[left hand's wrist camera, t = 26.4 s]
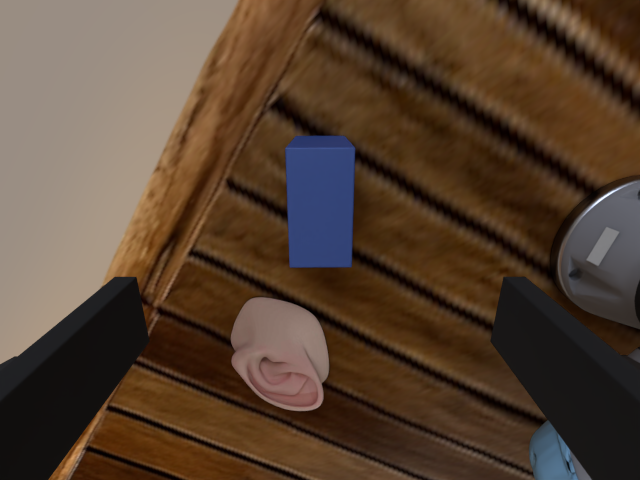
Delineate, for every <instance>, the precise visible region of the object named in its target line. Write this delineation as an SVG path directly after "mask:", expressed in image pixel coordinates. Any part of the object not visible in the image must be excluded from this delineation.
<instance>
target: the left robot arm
mask: <svg viewBox="0 0 640 480" xmlns="http://www.w3.org/2000/svg"><path fill="white" fill-rule="evenodd" d="M551 271H552V276H553V279H554V281H555V283H556V285H557V287H558V289H559V290H560V291H561V292H562V293H563V294H564V295H565V296H566V297H567V298H568V299H569V300H571V301H572V302H573V303H575V304H576V305H577V306H579V307H580V308H582V309H583V310H585V311H587V312H589V313H592V314H594V315H597V316H600V317H603V318H606V319H609V320H612V321H616V322H619V323H622V324H625V325H628V326H631V327H634V328H637V329H640V175H636V176H631V177H627V178H623V179H620V180H617V181H614V182H612V183H610V184H607V185H605V186H604V187H602V188H600V189H598V190H597V191H595V192H593V193H592V194H591V195H589V196H588V197H587V198H585V199H584V200H583V201H582V202H581V203H579V204H578V205H577V206H576V207H575V208H574V210H573V211H572V212H571V213H570V214H569V215H568V217H567V218H566V220H565V221H564V222H563V224H562V226H561V227H560V229H559V231H558V233H557V235H556V238H555V240H554V243H553V247H552V252H551ZM148 343H149V336H148V331H147V327H146V322H145V317H144V312H143V307H142V302H141V297H140V292H139V288H138V283H137V278H136V277H114V278H113V279H112V280H111V281H109V282H108V283H107V284H106V285H104V286H103V287H102V288H101V289H100V290H98V291H97V292H96V293H95V294H93V295H92V296H91V297H90V298H89V299H87V300H86V301H85V302H84V303H83V304H81V305H80V306H79V307H78V308H76V309H75V310H74V311H73V312H72V313H70V314H69V315H68V316H67V317H65V318H64V319H63V320H62V321H61V322H59V323H58V324H57V325H56V326H55V327H53V328H52V329H51V330H50V331H48V332H47V333H46V334H45V335H44V336H42V337H41V338H40V339H39V340H37V341H36V342H35V343H34V344H32V345H31V346H30V347H29V348H28V349H26V350H25V351H24V352H23V353H22V354H20V355H19V356H18V357H13V358H11V359H9V360H7V361H6V362H4V363H2V364H0V480H48V479H49V478H50V476H51V475H52V474H53V472H54V471H55V470H56V468H57V467H58V466H59V464H60V463H61V461H62V460H63V459H64V457H65V456H66V455H67V453H68V452H69V451H70V449H71V448H72V446H73V445H74V444H75V442H76V441H77V440H78V438H79V437H80V436H81V434H82V433H83V431H84V430H85V429H86V427H87V426H88V425H89V423H90V422H91V421H92V419H93V418H94V416H95V415H96V414H97V412H98V411H99V410H100V408H101V407H102V406H103V404H104V403H105V401H106V400H107V399H108V397H109V396H110V395H111V393H112V392H113V390H114V389H115V388H116V386H117V385H118V384H119V382H120V381H121V380H122V378H123V377H124V375H125V374H126V373H127V371H128V370H129V369H130V367H131V366H132V365H133V363H134V362H135V360H136V359H137V358H138V356H139V355H140V354H141V352H142V351H143V350H144V348H145V347H146V345H147V344H148ZM491 343H492V344H493V345H494V347H495V348H496V350H497V351H498V352H499V354H500V355H501V356H502V358H503V359H504V360H505V362H506V363H507V365H508V366H509V367H510V369H511V370H512V371H513V373H514V374H515V375H516V377H517V378H518V380H519V381H520V382H521V384H522V385H523V386H524V388H525V389H526V390H527V392H528V393H529V395H530V396H531V397H532V399H533V400H534V401H535V403H536V404H537V406H538V407H539V408H540V410H541V411H542V412H543V414H544V415H545V416H546V418H547V419H548V420H547V421H546V422H545V423H544V424H543V425H542V426H541V427H540V428H539V429H538V430H536V432H535V433H534V434H533V436H532V438H531V440H530V445H529V457H530V463H531V466H532V469H533V472H534V477H535V480H640V347H638V348H636V349H635V350H634V351H633V352H632V353H630V354H629V355H628V356H626V355H620V354H618V353H617V352H616V351H615V350H614V349H612V348H611V347H610V346H609V345H608V344H606V343H605V342H604V341H603V340H601V339H600V338H599V337H598V336H597V335H595V334H594V333H593V332H592V331H590V330H589V329H588V328H587V327H586V326H584V325H583V324H582V323H581V322H579V321H578V320H577V319H576V318H575V317H573V316H572V315H571V314H570V313H568V312H567V311H566V310H565V309H564V308H562V307H561V306H560V305H559V304H557V303H556V302H555V301H554V300H553V299H551V298H550V297H549V296H548V295H547V294H545V293H544V292H543V291H542V290H540V289H539V288H538V287H537V286H536V285H534V284H533V283H532V282H531V281H529V280H528V279H527V278H526V277H504V278H503V283H502V288H501V292H500V297H499V302H498V307H497V312H496V317H495V322H494V327H493V331H492V336H491Z"/></svg>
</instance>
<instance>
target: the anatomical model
mask: <svg viewBox="0 0 640 480" xmlns="http://www.w3.org/2000/svg"><path fill="white" fill-rule="evenodd" d="M231 343H232V346H233V348H234V349H235V351H236V352H235V353H234V355H233V357H232V365H233V367H234V368H235V370H236V371H237V372H238V373H239V375H240V376H241V377H242V378H243V379H244V381H245V382H246V383H247V384H248V385H249V387H250V388H251V389H252V390H253V391H254V392H255V393H256V394H257V395H258V396H259V397H261V398H262V399H264V400H265V401H267V402H269V403H271V404H273V405H275V406H278V407H281V408H284V409H288V410H294V411H308V410H313V409H316V408H318V407H319V406H320V405H321V403H322V401H323V387H322V383H323V382H324V381H325V380H326V378H327V376H328V373H329V358H328V351H327V345H326V341H325V337H324V333H323V330H322V328H321V325H320V323H319V322H318V320H317V319H316V317H315V316H314V315H313V314H312V313H310V312H309V311H307V310H306V309H304V308H302V307H300V306H298V305H295V304H292V303H289V302H285V301H282V300H277V299H272V298H265V297H257V298H252V299H250V300H248V301H247V302H246V303H245V305H244V306H243V308H242V309H241V311H240V313H239V315H238V317H237V319H236V321H235V324H234V327H233V331H232V335H231Z"/></svg>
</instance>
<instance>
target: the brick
mask: <svg viewBox="0 0 640 480" xmlns="http://www.w3.org/2000/svg"><path fill="white" fill-rule="evenodd" d="M285 154H286V180H287V206H288V232H289V258H290V267H351V266H352V240H353V206H354V173H355V147H354V146H353V145H352V144H351V143H350V142H349V141H348V139H347V138H346V137H345V136H296V137H295V138H294V139H293V140H292V141H291V142H290V144H289V145H288V146H287V147H286V149H285Z"/></svg>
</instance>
